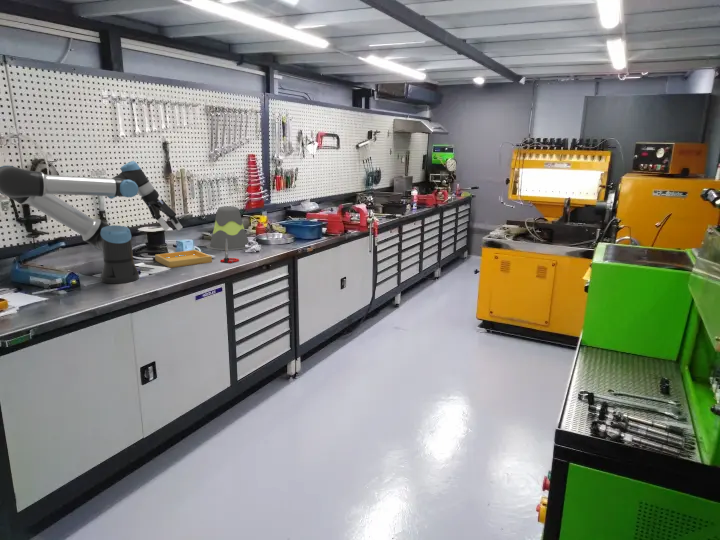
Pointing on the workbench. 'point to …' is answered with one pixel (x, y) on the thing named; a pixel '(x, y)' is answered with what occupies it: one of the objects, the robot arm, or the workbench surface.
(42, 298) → the workbench surface
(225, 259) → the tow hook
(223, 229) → the gray green truncated cone
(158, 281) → the workbench surface
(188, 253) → the parts tray
